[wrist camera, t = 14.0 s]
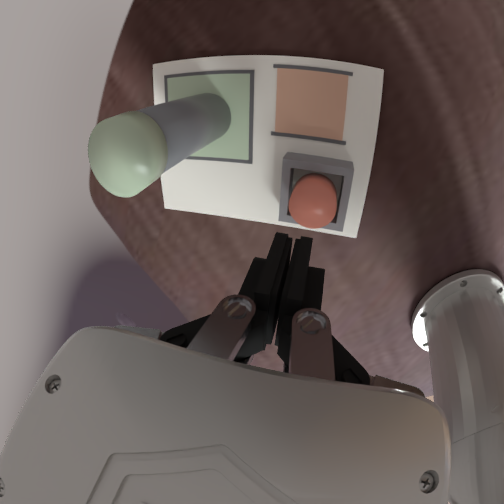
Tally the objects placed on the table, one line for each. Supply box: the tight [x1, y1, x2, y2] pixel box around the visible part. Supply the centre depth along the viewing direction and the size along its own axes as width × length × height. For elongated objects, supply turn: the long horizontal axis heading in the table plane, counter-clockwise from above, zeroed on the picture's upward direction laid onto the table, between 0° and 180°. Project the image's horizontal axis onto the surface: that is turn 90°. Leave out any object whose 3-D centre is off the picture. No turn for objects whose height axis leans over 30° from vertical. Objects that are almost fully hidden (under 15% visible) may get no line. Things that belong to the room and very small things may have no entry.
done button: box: [289, 173, 337, 229], centre depth 19 cm, size 3×3×2 cm
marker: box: [88, 93, 231, 197], centre depth 16 cm, size 4×4×11 cm
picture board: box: [153, 55, 384, 238], centre depth 20 cm, size 18×14×2 cm
